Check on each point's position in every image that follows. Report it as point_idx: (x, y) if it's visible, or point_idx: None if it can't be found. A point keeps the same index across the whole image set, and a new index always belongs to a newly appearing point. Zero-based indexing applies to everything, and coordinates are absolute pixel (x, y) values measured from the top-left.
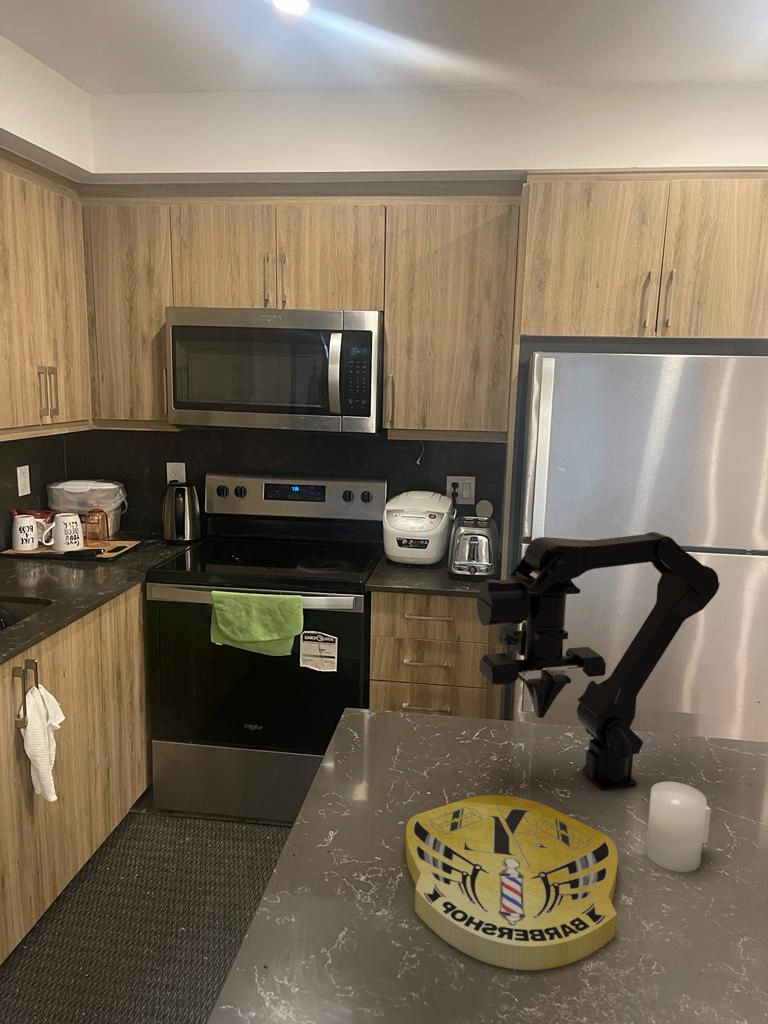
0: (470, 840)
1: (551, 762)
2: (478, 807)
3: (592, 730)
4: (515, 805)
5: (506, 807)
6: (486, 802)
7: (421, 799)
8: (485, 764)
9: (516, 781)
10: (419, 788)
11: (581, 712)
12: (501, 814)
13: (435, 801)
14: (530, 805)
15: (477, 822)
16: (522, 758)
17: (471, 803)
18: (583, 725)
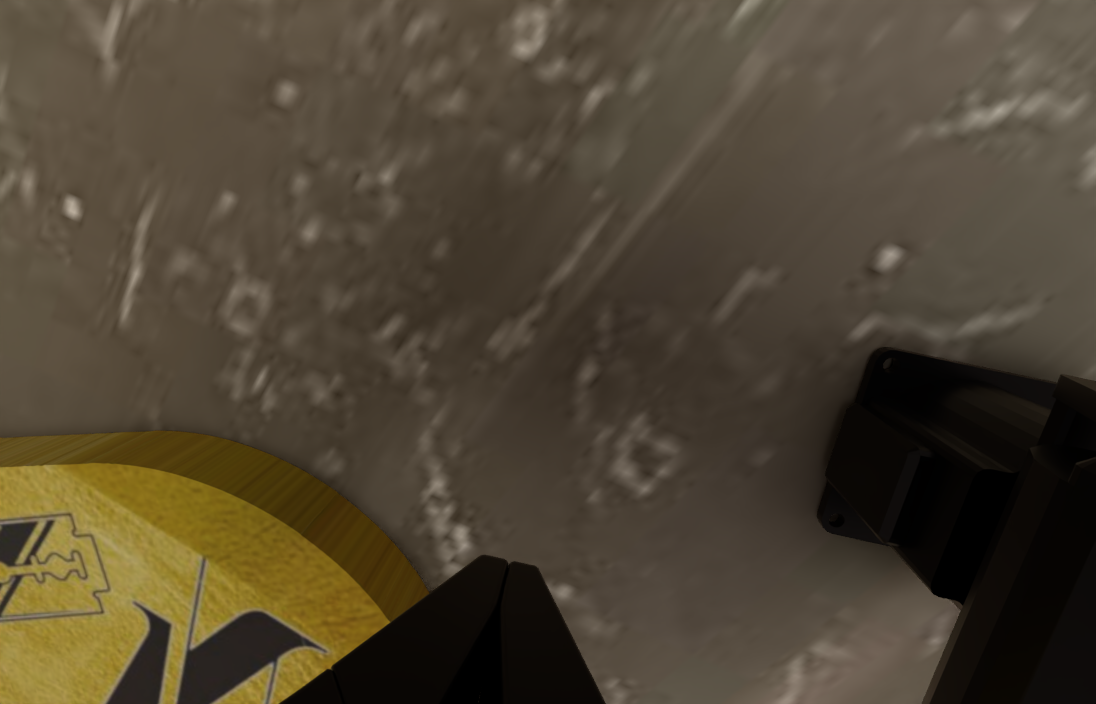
0: (7, 692)
1: (790, 212)
2: (120, 538)
3: (941, 694)
4: (280, 592)
5: (234, 589)
6: (169, 523)
7: (26, 243)
8: (446, 81)
9: (503, 293)
10: (42, 156)
11: (1070, 572)
12: (192, 616)
13: (79, 283)
14: (342, 617)
15: (74, 619)
16: (673, 107)
17: (103, 501)
18: (1008, 499)
